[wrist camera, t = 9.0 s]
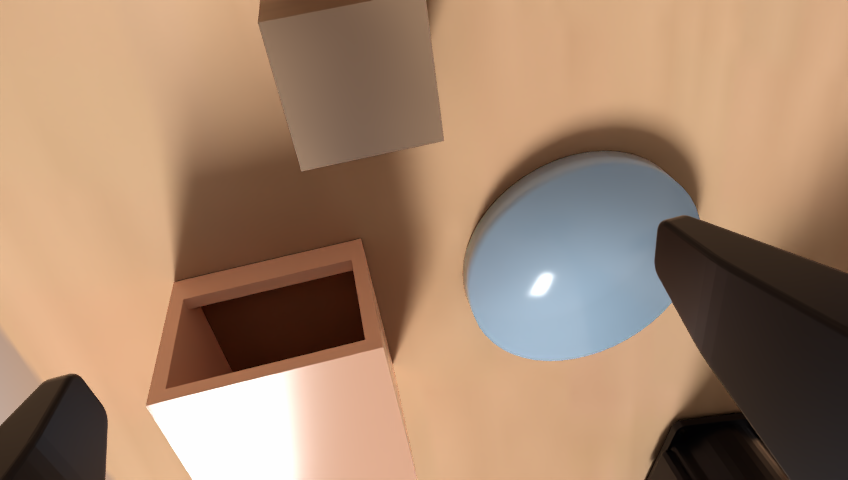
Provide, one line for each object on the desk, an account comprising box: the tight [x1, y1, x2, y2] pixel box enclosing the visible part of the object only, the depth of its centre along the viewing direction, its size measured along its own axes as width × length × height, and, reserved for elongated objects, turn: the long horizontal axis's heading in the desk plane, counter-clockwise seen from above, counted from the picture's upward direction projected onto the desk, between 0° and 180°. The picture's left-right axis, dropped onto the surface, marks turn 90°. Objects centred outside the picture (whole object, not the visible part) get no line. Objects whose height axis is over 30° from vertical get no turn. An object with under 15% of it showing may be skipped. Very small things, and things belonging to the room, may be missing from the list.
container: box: [146, 239, 417, 480], centre depth 23 cm, size 7×7×6 cm
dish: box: [463, 151, 700, 361], centre depth 26 cm, size 10×10×1 cm
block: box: [258, 0, 444, 172], centre depth 17 cm, size 4×4×4 cm
